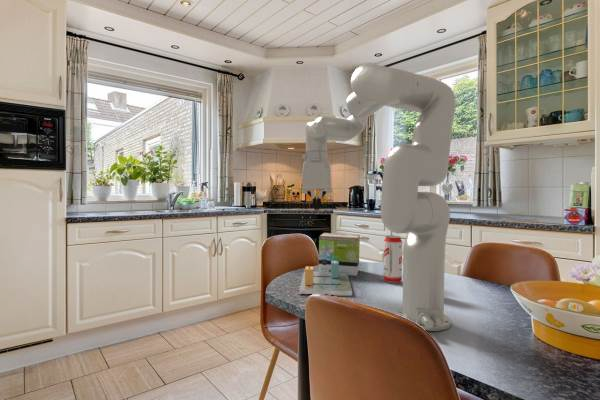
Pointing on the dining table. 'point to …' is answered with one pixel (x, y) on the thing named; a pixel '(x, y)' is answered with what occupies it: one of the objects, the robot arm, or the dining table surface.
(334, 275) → the fader teal
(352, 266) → the tea box
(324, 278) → the console
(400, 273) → the beer can
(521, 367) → the dining table surface
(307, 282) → the fader orange
